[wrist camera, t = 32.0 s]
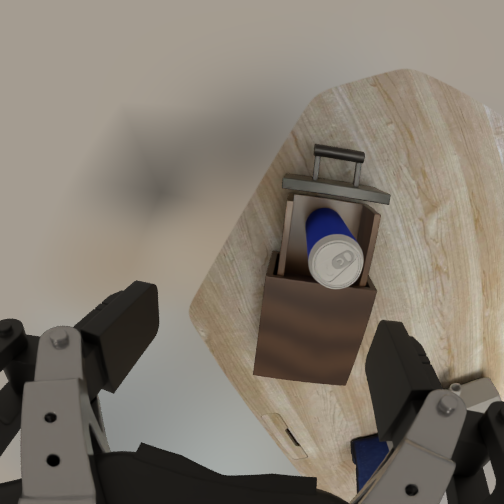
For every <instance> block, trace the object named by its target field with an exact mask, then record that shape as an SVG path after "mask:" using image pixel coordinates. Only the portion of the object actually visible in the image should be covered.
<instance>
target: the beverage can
mask: <svg viewBox="0 0 504 504" xmlns="http://www.w3.org/2000/svg"><path fill="white" fill-rule="evenodd" d="M305 229H306V240H307V253H308V266H309V270H310V272H311V274H312V276H313V278H314V279H315V280H316V281H317V282H319V283H320V284H321V285H323V286H325V287H327V288H331V289H342V288H346V287H348V286H350V285H351V284H353V283H354V282H355V281H356V280H357V279H358V277H359V275H360V273H361V271H362V267H363V262H364V257H363V252H362V249H361V247H360V246H359V244H358V243H357V241H356V239H355V238H354V236H353V235H352V233H351V232H350V230H349V229H348V227H347V225H346V224H345V222H344V221H343V219H342V218H341V216H340V215H339V214H338V213H337V212H336V211H334V210H332V209H329V208H320V209H317V210H315V211H313V212H312V213H311V214H310V215H309V217H308V218H307V221H306V225H305Z"/></svg>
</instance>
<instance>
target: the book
mask: <svg viewBox="0 0 504 504" xmlns="http://www.w3.org/2000/svg"><path fill="white" fill-rule="evenodd" d="M388 453H389V448H388V445H387V442H386V441H383V442H380V441H379V436H378V434H377V435H374V436H370V437H366V438H361V439H357V440H354V441H352V442H351V454H352V461H353V463H354V464H356V481H357V494H358V493H359V491H360V490H361V489H362V488H363V487H364V485H365V484H366V483H367V481H368V480H369V479H370V478H371V476H372V475H373V474H374V472H375V471H376V470H377V468H378V467H379V465H380V464H381V463H382V461H383V460H384V458H385V457H386V455H387V454H388Z"/></svg>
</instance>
